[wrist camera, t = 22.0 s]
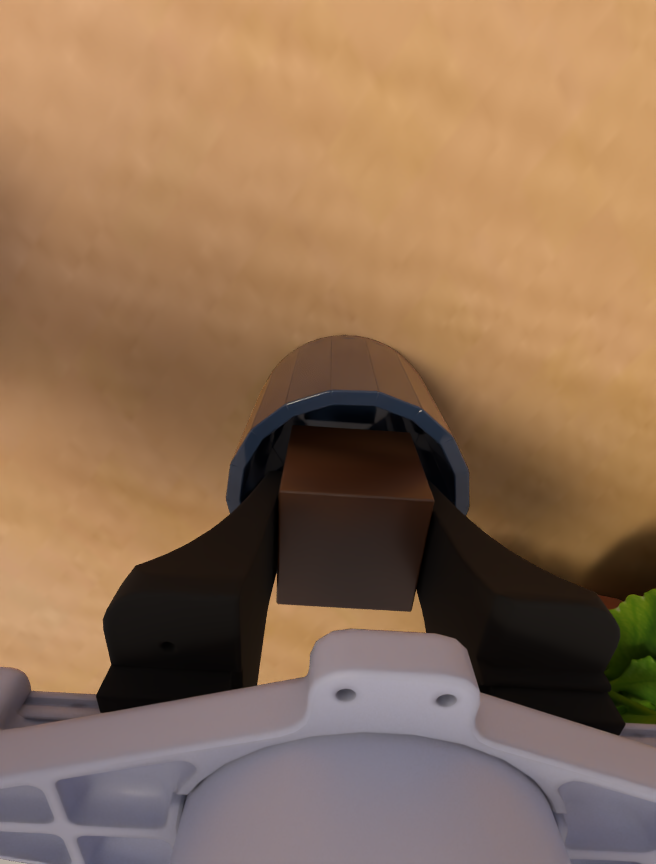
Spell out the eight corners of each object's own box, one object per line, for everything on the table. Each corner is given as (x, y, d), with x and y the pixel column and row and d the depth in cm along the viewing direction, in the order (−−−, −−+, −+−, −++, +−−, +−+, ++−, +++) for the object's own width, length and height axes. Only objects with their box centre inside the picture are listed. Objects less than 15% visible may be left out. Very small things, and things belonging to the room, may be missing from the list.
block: (288, 520, 17) (275, 604, 13) (292, 423, 15) (278, 490, 12) (394, 526, 17) (412, 612, 13) (410, 431, 15) (435, 500, 12)
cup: (222, 406, 21) (174, 486, 15) (362, 295, 19) (377, 334, 12) (328, 516, 24) (326, 624, 17) (461, 432, 21) (515, 520, 15)
